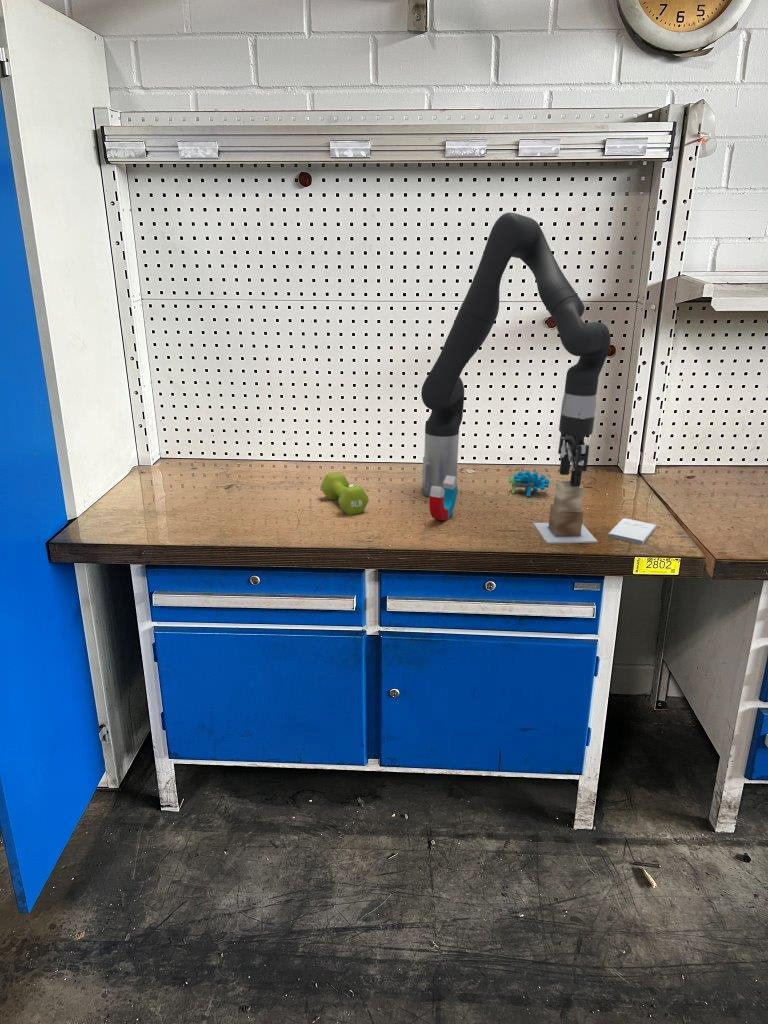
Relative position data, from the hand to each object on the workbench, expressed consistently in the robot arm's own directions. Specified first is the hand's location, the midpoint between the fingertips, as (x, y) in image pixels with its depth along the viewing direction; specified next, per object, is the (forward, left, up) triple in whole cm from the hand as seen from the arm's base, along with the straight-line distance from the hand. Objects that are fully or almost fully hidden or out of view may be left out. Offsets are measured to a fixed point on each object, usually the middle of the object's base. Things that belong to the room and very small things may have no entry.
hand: (569, 480), depth 164 cm
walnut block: (0, -1, -13) cm, 13 cm away
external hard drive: (+16, -1, -14) cm, 22 cm away
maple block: (0, -1, -7) cm, 7 cm away
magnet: (-28, +10, -13) cm, 33 cm away
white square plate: (0, -1, -13) cm, 13 cm away
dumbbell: (-53, +21, -14) cm, 59 cm away
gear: (-1, +28, -13) cm, 31 cm away
